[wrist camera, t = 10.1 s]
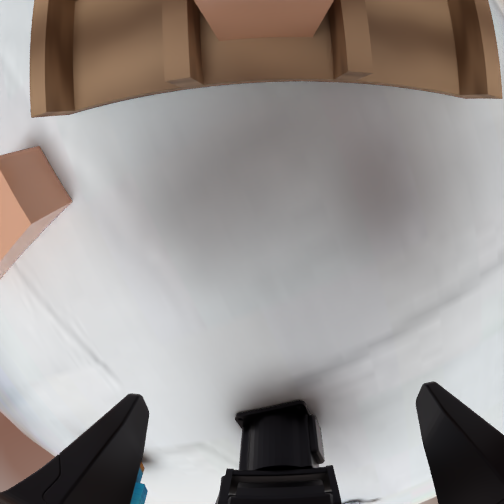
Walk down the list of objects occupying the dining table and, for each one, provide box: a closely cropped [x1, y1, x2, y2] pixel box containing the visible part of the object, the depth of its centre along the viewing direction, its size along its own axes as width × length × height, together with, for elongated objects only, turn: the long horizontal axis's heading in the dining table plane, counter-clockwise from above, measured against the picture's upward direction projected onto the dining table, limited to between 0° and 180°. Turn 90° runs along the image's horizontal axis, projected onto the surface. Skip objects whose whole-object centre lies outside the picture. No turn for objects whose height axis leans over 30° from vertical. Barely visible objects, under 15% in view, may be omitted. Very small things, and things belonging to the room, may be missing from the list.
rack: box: [30, 0, 502, 118], centre depth 12 cm, size 9×26×4 cm, turn 93°
